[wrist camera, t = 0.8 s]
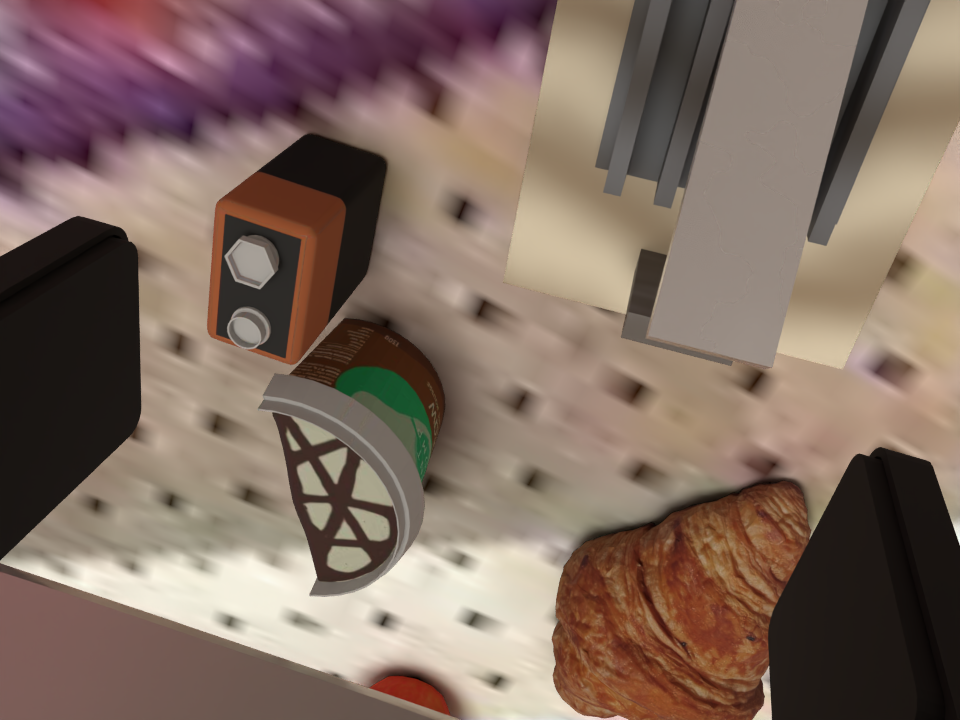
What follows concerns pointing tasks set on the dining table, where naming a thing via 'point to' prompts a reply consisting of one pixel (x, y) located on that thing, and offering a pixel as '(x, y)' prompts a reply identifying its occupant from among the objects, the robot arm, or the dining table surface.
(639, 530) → the pastry
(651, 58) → the heatsink board
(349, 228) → the battery
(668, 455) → the dining table surface
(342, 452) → the food container
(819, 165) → the clamp bar
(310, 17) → the dining table surface
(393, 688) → the red egg
